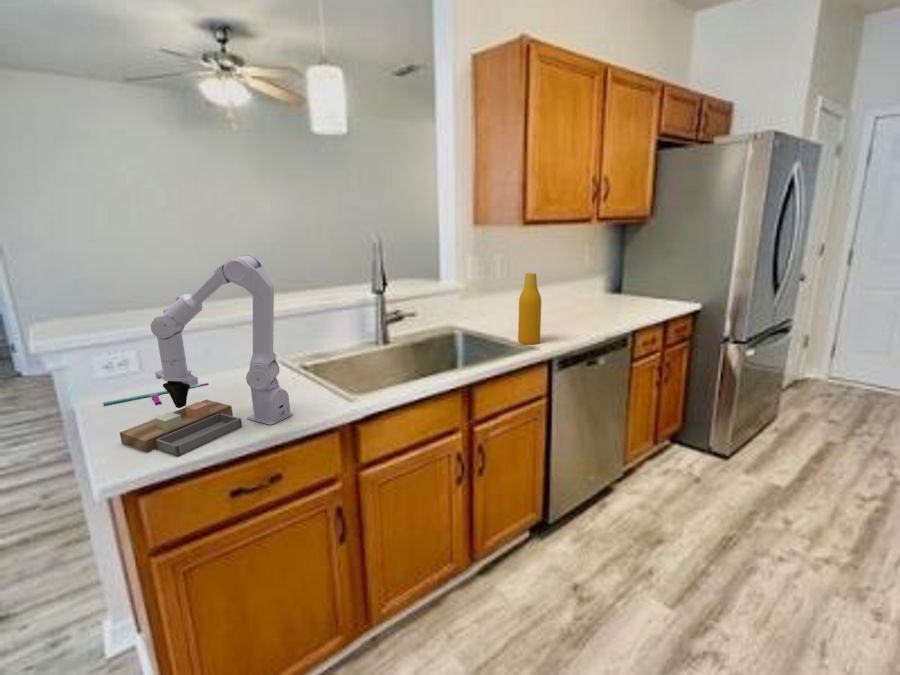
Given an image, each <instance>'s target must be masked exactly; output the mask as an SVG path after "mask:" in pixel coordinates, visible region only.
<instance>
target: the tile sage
mask: <svg viewBox="0 0 900 675" xmlns="http://www.w3.org/2000/svg"><path fill="white" fill-rule="evenodd" d="M155 419H156V424H157V427H158V428H161V429H164V430H169V429H172V428H174V427H177V426H179V425H182V420H181V415H178V414H175V413H172V412H171V411H170V412H168V413H165V414H163V415H160V416H158V417H155Z"/></svg>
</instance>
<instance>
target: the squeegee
mask: <svg viewBox="0 0 900 675" xmlns="http://www.w3.org/2000/svg"><path fill="white" fill-rule="evenodd" d="M204 386H209V383H208V382H206V383H202V384H201V383H200V384H197V385H194V386H190V388H189V389H195V388H200V387H204ZM164 394H169V393H168V392H167V390H163V391H158V392H153V393H152V392H151V393H146V394H142V395H136V396H131V397H126V398H125V397H124V398H119V399H115V400H109V401H104V402H102V404H103V407H108V406H109V407H110V406H113V405H118V404H123V403H126V402H127V403H128V402H133V401H138V400H140V399H145V398H150V397H151V400H152V401H153V403H154V405H155V406H158V405H162V401H161V400H160V398H159V396H160V395H164Z"/></svg>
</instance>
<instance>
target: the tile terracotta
mask: <svg viewBox="0 0 900 675" xmlns="http://www.w3.org/2000/svg"><path fill="white" fill-rule="evenodd" d="M184 408H185V409H186V415H187V416H189V417H193V418H199V417H201V416H204V415H206V414H209V413H210V410H209V404H206V403H202V402H201V401H197V402H194V403H192V404H189V405H186V406H184Z"/></svg>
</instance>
